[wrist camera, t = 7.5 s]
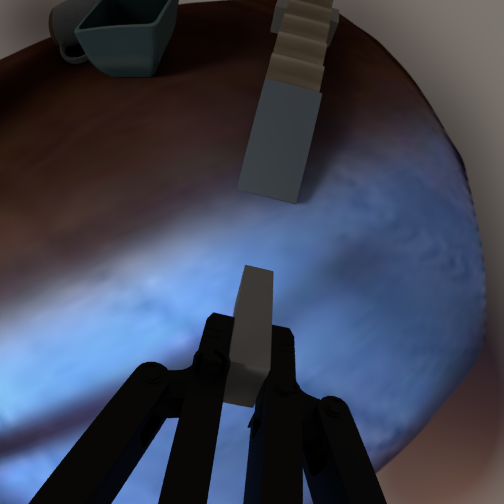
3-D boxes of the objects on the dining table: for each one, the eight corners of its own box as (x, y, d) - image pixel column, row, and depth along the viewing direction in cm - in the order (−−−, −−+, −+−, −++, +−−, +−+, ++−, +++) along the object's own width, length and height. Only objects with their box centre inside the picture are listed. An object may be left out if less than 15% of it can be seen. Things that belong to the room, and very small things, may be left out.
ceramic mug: (65, 32, 32) (52, -4, 24) (116, 17, 33) (108, -23, 26) (54, 75, 29) (35, 34, 22) (113, 56, 31) (100, 11, 23)
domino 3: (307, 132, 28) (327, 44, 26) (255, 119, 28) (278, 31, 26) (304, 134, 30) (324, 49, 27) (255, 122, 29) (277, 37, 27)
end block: (329, 47, 34) (338, 22, 30) (270, 31, 34) (275, 6, 30) (330, 33, 35) (338, 10, 31) (274, 18, 35) (280, -6, 31)
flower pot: (183, 43, 32) (181, -15, 23) (165, 89, 30) (156, 24, 21) (118, 44, 31) (106, -10, 23) (93, 90, 29) (71, 32, 20)
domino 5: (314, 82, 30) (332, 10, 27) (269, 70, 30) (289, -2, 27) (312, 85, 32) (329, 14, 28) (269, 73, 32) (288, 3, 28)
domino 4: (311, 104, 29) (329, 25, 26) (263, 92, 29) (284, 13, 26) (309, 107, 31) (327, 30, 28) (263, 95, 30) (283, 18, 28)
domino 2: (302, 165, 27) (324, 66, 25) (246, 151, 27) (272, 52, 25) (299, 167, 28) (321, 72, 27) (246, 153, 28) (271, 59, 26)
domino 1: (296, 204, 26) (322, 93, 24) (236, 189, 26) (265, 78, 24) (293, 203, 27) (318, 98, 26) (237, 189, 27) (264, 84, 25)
